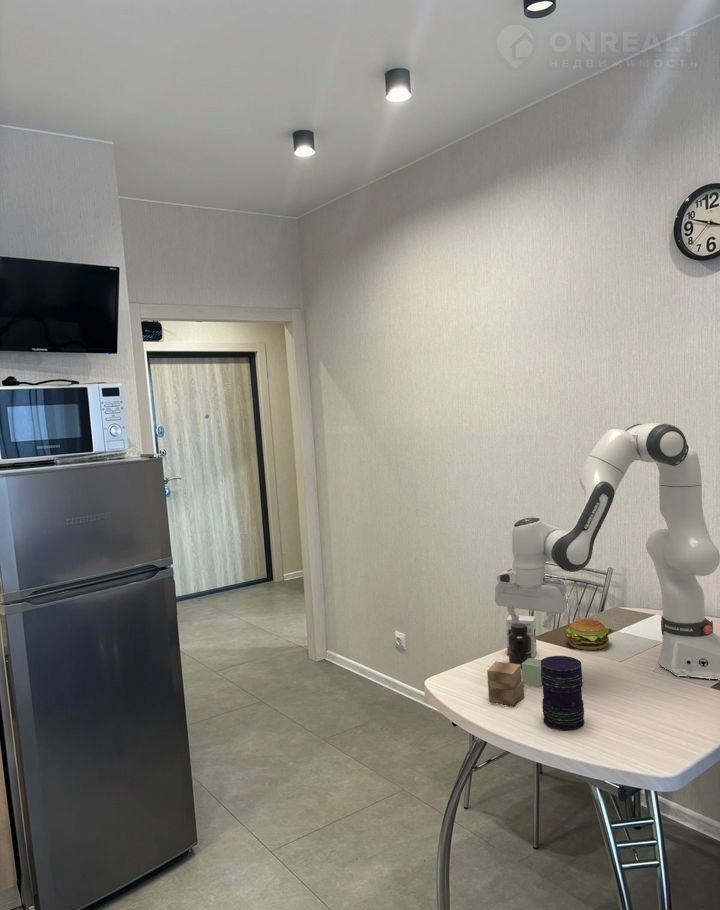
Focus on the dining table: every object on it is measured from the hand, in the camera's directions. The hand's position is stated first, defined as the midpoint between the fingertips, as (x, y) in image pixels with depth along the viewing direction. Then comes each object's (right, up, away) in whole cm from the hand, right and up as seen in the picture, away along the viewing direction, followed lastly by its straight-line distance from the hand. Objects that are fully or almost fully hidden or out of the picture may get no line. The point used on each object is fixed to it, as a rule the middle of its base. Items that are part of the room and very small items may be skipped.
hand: (531, 624), depth 196 cm
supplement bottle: (+1, -16, +15) cm, 22 cm away
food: (+25, -14, +28) cm, 40 cm away
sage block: (+1, -17, +1) cm, 17 cm away
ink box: (+3, -15, +24) cm, 28 cm away
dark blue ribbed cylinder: (+2, -18, -24) cm, 30 cm away
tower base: (-9, -18, -9) cm, 22 cm away
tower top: (-9, -14, -9) cm, 19 cm away
